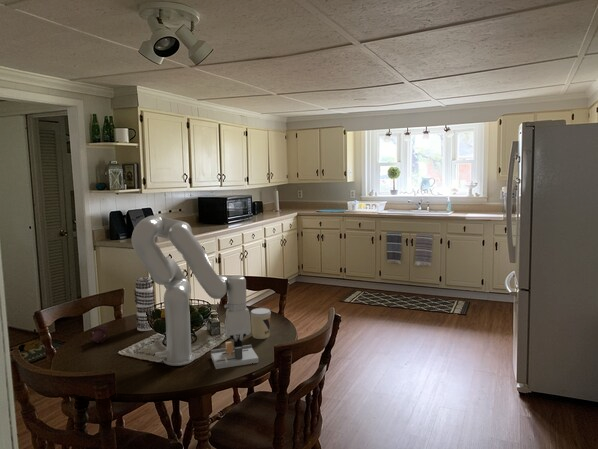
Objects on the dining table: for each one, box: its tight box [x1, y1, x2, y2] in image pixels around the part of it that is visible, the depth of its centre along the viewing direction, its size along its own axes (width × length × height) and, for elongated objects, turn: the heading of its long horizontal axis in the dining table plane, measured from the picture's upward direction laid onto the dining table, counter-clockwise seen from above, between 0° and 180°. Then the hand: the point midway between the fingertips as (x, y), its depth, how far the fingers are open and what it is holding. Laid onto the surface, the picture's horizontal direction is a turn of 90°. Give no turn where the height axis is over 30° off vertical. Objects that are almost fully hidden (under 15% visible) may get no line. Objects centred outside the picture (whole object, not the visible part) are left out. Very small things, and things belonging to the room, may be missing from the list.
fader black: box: [235, 346, 242, 360], centre depth 183 cm, size 2×3×4 cm
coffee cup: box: [249, 307, 272, 340], centre depth 212 cm, size 9×9×12 cm
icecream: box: [89, 324, 108, 344], centre depth 205 cm, size 7×7×15 cm
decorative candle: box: [133, 276, 155, 332], centre depth 222 cm, size 9×9×25 cm
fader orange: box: [225, 341, 234, 354], centre depth 188 cm, size 2×3×4 cm
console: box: [210, 344, 259, 370], centre depth 186 cm, size 17×12×3 cm
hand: (238, 349), depth 189 cm, fingers closed
